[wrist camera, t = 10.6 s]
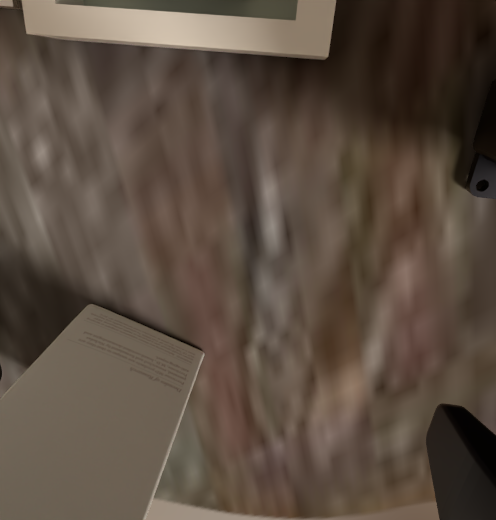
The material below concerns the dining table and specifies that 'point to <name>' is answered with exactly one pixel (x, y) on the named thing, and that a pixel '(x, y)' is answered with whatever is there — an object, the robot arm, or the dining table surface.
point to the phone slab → (11, 4)
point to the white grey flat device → (191, 24)
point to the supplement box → (93, 421)
